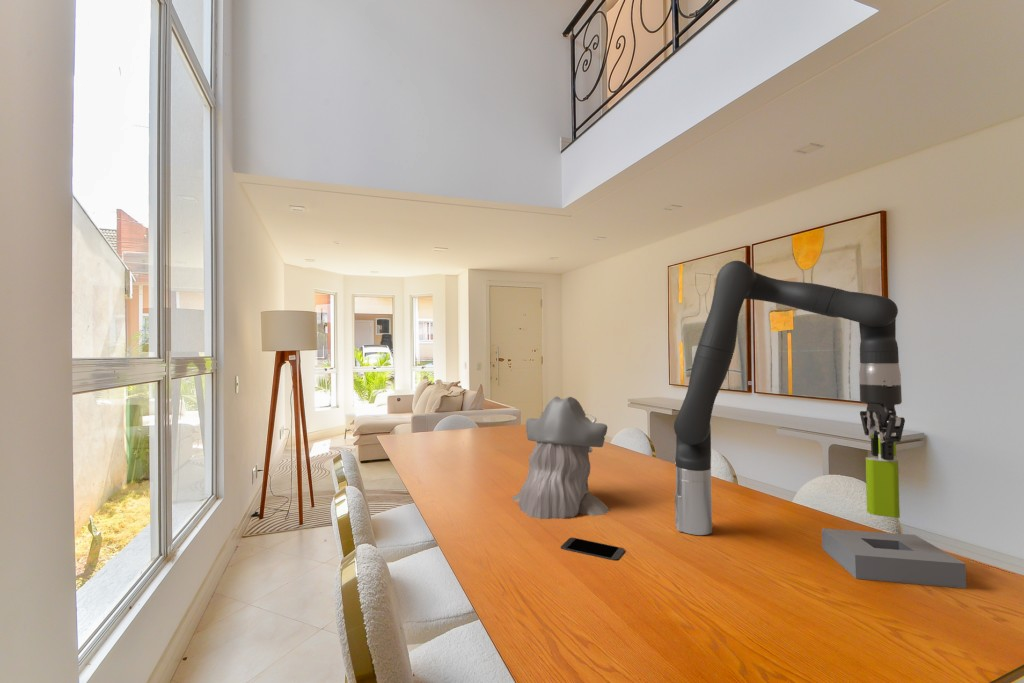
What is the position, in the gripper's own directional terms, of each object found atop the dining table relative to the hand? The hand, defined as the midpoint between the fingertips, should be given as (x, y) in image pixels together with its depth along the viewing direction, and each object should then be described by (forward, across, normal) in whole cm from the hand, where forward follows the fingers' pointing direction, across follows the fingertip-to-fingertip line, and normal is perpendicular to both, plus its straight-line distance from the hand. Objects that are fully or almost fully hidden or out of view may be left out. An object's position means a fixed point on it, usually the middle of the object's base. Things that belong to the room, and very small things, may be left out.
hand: (882, 457), depth 105 cm
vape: (+13, 0, 0) cm, 13 cm away
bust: (+25, -31, -78) cm, 88 cm away
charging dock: (+25, 0, 0) cm, 25 cm away
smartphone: (+25, +4, -66) cm, 71 cm away
